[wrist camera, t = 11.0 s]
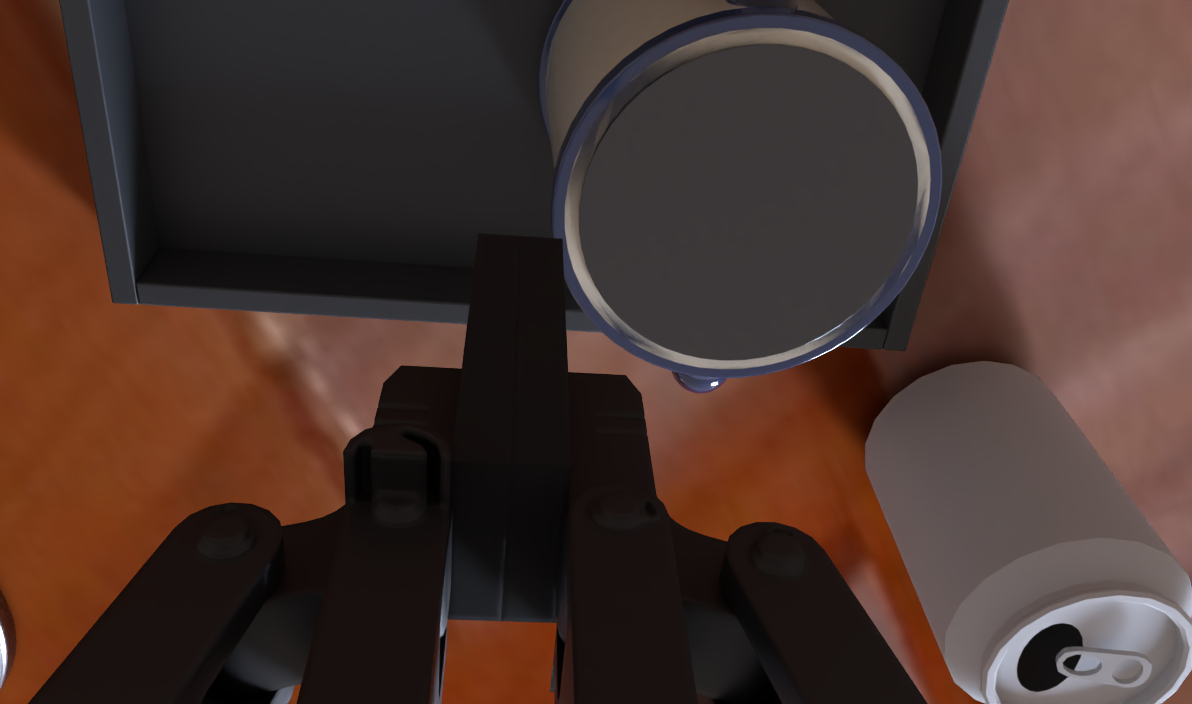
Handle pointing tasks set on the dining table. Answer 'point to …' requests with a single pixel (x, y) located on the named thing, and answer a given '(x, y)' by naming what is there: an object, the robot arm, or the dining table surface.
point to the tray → (382, 144)
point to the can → (1026, 545)
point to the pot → (732, 179)
